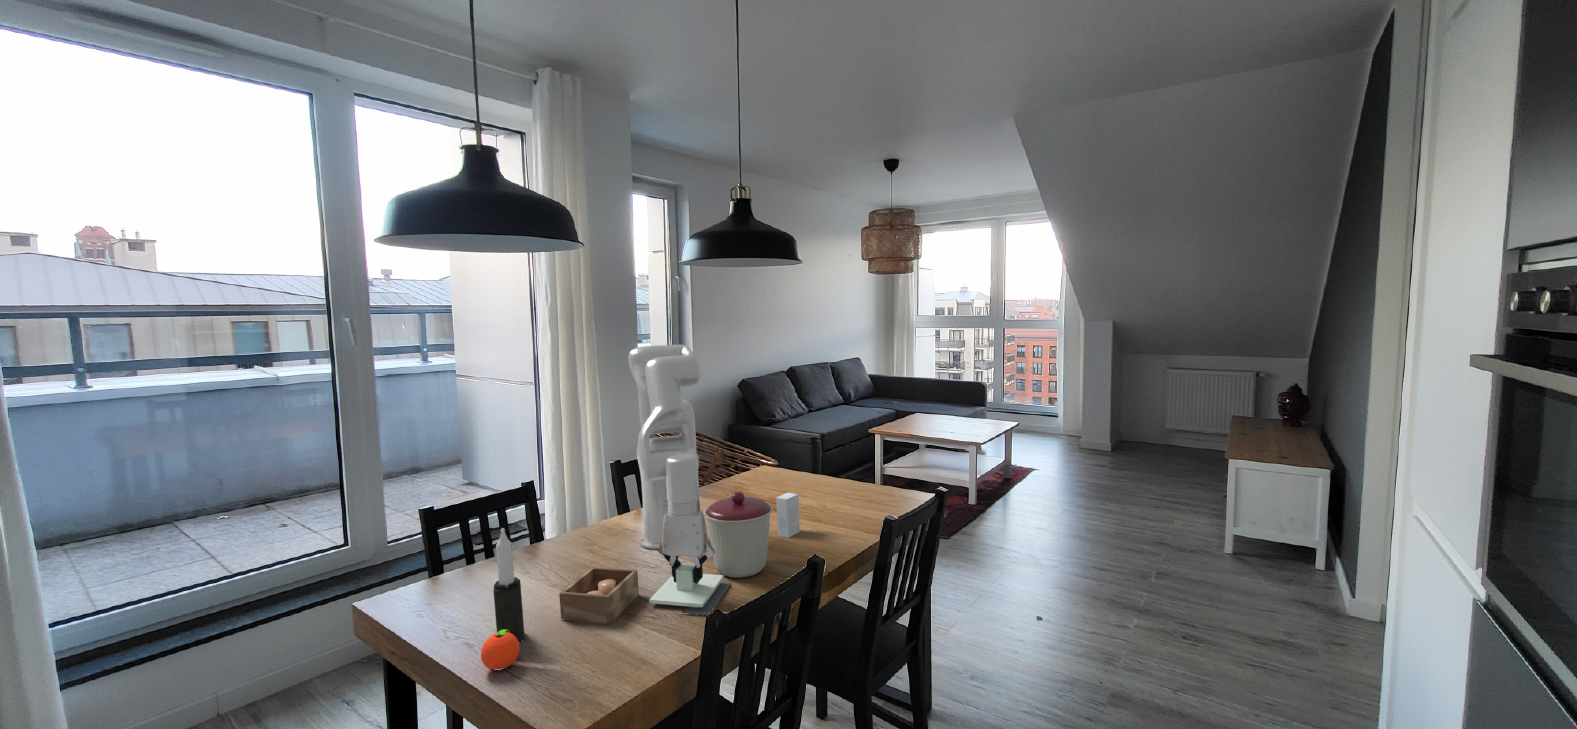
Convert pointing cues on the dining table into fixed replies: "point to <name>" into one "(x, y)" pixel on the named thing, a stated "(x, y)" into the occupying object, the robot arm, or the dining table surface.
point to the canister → (739, 534)
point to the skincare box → (788, 514)
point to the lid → (686, 588)
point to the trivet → (710, 601)
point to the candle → (507, 592)
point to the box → (598, 596)
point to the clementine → (500, 650)
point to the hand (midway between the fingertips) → (687, 579)
